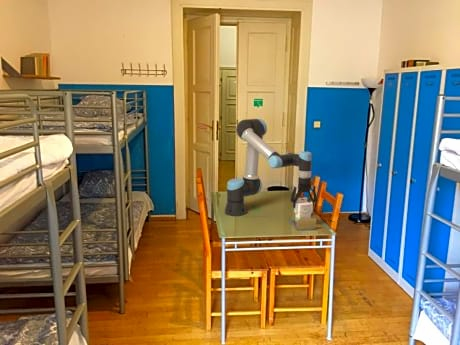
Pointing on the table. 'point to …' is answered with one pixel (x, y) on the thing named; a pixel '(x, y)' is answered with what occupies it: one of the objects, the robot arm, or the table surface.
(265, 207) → the table surface
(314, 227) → the bracket
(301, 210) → the ink box
